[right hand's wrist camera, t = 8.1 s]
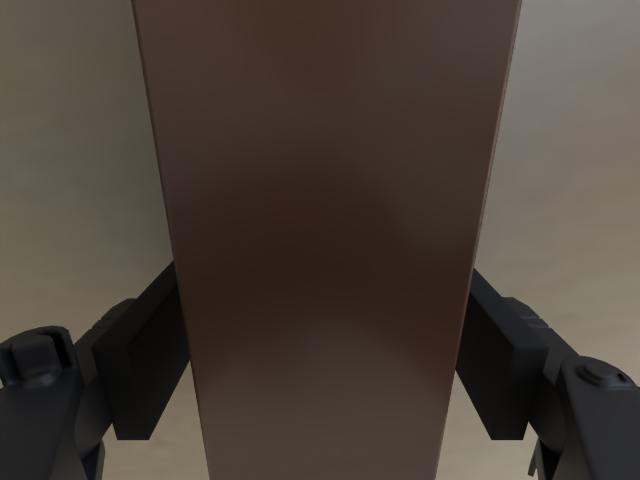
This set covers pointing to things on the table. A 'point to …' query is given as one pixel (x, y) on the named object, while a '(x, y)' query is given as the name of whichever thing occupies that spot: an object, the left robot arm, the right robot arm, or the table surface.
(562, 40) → the table surface
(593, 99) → the table surface
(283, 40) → the beam
